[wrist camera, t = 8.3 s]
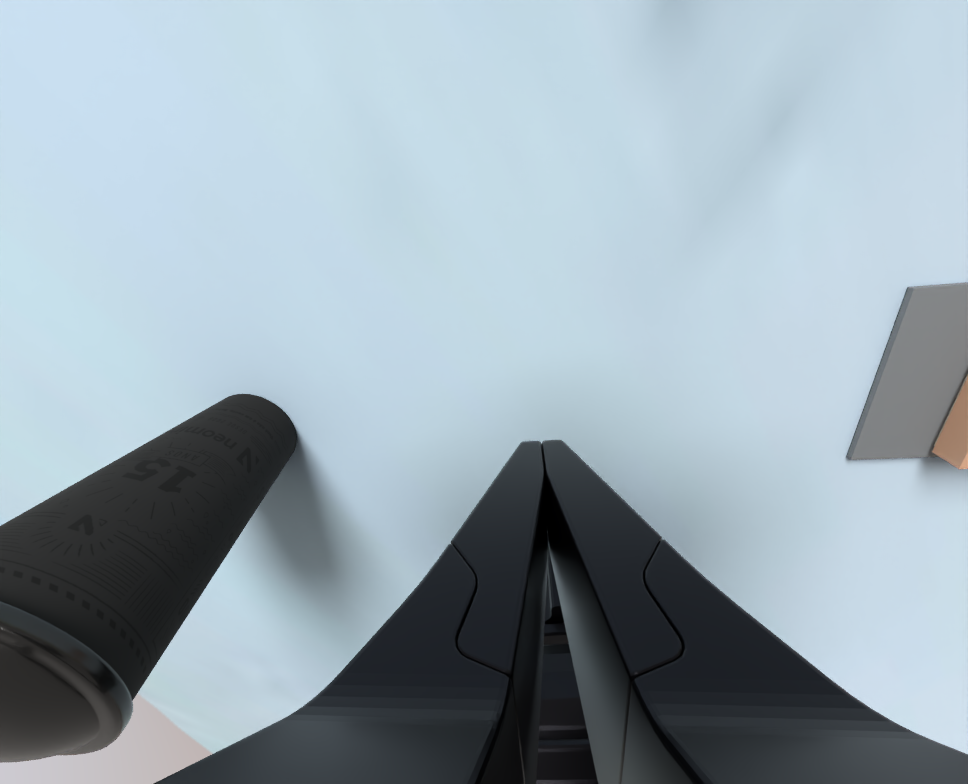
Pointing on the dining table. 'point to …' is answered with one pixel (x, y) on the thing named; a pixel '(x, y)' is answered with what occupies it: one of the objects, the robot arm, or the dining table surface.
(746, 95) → the dining table surface
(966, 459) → the tile
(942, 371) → the mat
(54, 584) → the drinking cup
